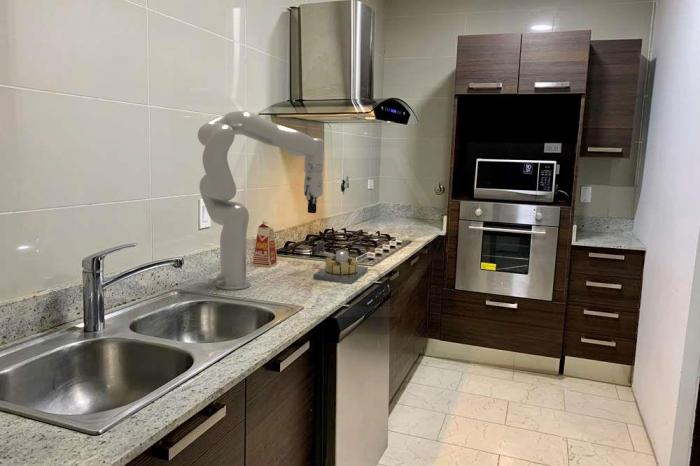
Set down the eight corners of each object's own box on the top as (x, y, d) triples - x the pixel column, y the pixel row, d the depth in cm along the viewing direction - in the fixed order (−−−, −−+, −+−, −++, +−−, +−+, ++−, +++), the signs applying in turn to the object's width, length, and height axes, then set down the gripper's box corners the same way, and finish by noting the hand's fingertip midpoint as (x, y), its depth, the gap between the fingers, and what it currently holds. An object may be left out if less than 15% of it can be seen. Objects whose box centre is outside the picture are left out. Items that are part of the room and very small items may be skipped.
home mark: (327, 270, 223) (327, 269, 223) (324, 271, 222) (324, 270, 222) (318, 267, 227) (318, 267, 227) (315, 268, 226) (315, 267, 226)
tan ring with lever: (364, 271, 215) (365, 248, 213) (339, 275, 206) (340, 251, 205) (329, 260, 232) (330, 239, 230) (305, 264, 223) (306, 242, 221)
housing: (350, 284, 203) (351, 259, 201) (313, 279, 208) (313, 255, 207) (367, 271, 224) (368, 249, 222) (333, 267, 229) (333, 245, 227)
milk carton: (271, 267, 225) (271, 222, 221) (251, 265, 227) (251, 220, 223) (278, 263, 234) (278, 219, 230) (258, 261, 235) (259, 218, 232)
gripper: (315, 169, 204) (313, 215, 207) (328, 168, 219) (326, 211, 221) (297, 168, 207) (296, 214, 210) (312, 167, 221) (310, 210, 224)
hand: (311, 212), depth 216 cm, fingers closed
